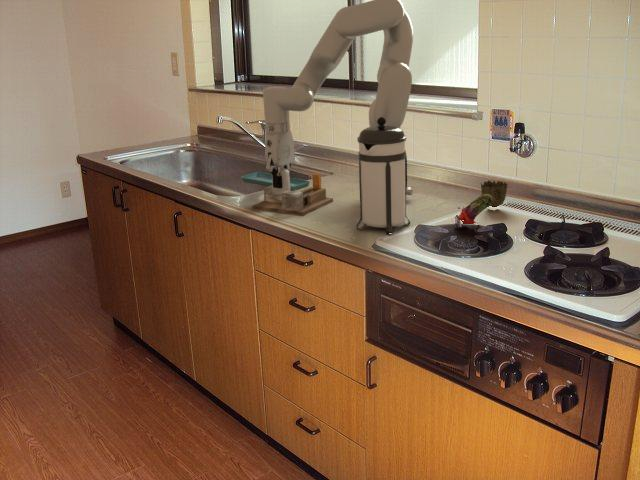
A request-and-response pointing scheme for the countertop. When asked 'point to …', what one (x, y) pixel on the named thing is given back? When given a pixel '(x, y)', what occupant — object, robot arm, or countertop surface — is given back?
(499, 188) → the green flared piece
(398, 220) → the coffee press
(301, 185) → the shallow long dish
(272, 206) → the rail board
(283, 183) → the eye dropper bottle
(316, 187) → the shaft
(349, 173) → the countertop surface
